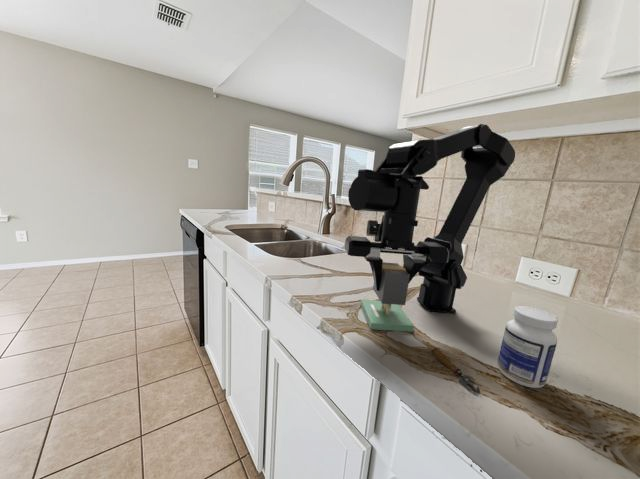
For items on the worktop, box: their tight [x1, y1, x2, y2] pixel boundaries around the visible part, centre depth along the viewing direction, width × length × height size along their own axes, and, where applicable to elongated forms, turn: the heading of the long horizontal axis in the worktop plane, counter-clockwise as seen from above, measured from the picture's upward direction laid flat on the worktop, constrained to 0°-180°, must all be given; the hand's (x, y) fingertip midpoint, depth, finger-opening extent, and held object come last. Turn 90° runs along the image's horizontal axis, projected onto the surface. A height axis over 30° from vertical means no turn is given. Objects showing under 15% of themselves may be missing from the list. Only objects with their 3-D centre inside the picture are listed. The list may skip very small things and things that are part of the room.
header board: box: [360, 299, 415, 333], centre depth 51 cm, size 10×8×4 cm
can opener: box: [431, 347, 481, 397], centre depth 37 cm, size 9×2×1 cm, turn 9°
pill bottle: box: [496, 305, 559, 389], centre depth 36 cm, size 6×6×10 cm
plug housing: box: [372, 261, 410, 306], centre depth 50 cm, size 7×4×6 cm, turn 2°
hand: (388, 290), depth 50 cm, fingers closed on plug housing, 4 cm apart
